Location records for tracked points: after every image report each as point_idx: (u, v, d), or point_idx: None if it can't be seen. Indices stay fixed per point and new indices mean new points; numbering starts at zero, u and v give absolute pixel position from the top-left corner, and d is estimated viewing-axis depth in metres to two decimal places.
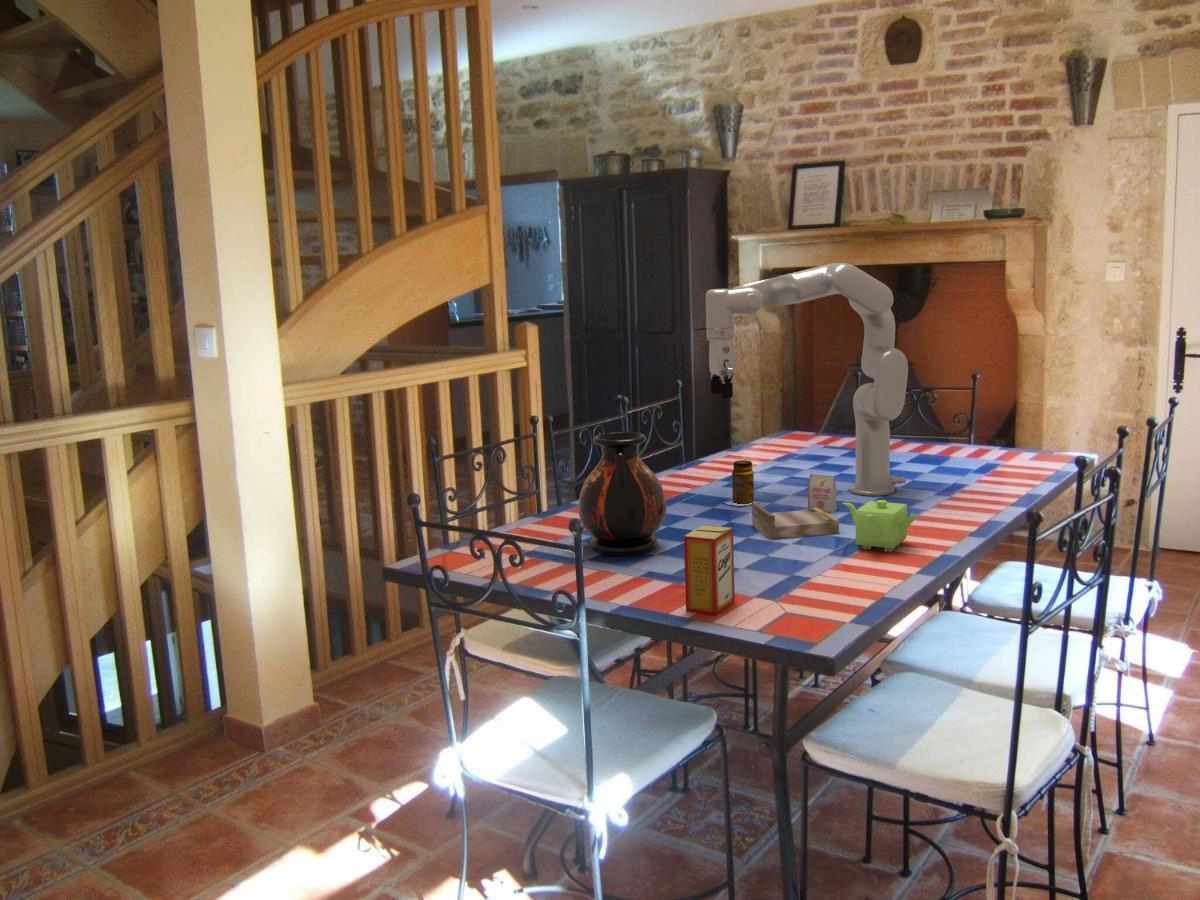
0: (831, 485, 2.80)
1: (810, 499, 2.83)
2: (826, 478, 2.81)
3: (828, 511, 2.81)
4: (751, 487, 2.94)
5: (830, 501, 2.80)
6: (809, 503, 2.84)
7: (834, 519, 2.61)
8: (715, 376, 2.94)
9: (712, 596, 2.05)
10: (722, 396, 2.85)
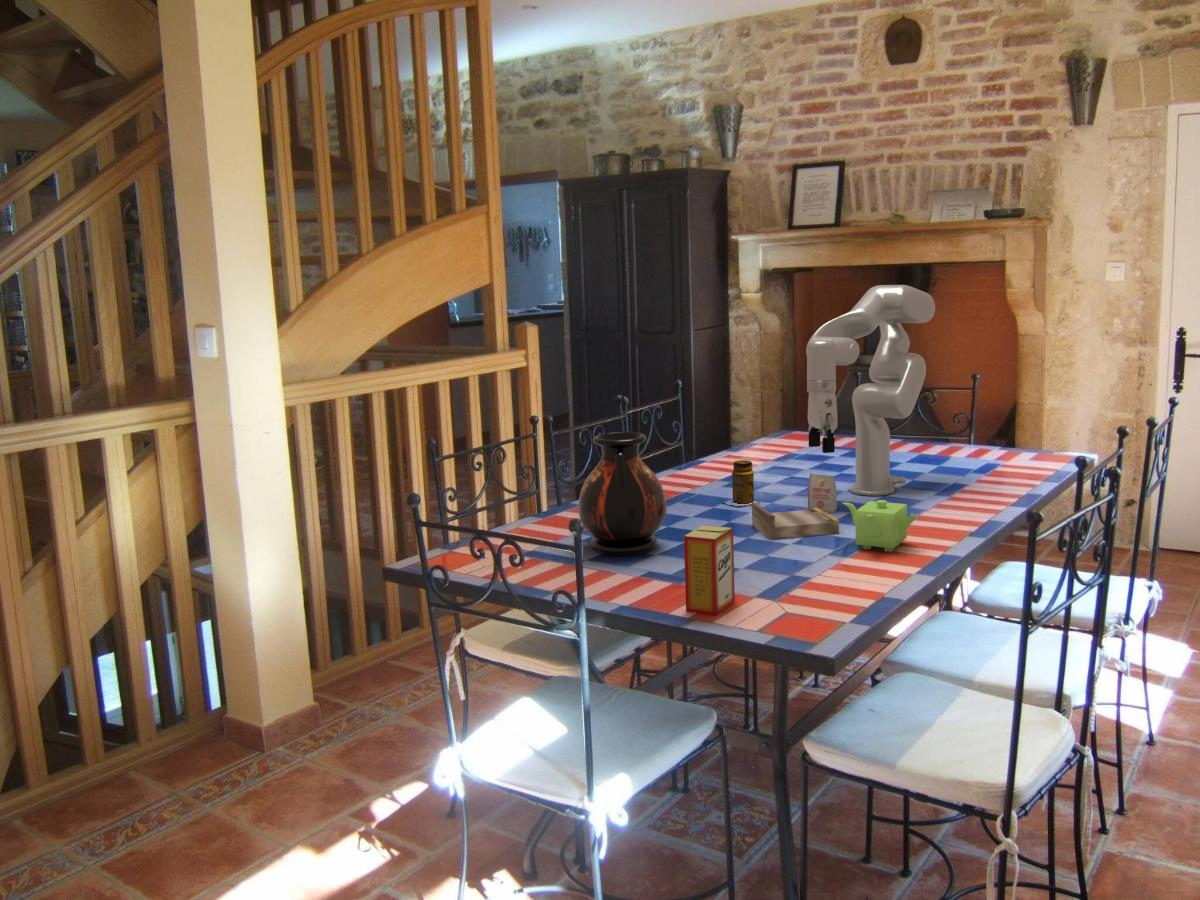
0: (831, 485, 2.80)
1: (810, 499, 2.83)
2: (826, 478, 2.81)
3: (828, 511, 2.81)
4: (751, 487, 2.94)
5: (830, 501, 2.80)
6: (809, 503, 2.84)
7: (834, 519, 2.61)
8: (813, 428, 2.85)
9: (712, 596, 2.05)
10: (824, 451, 2.75)
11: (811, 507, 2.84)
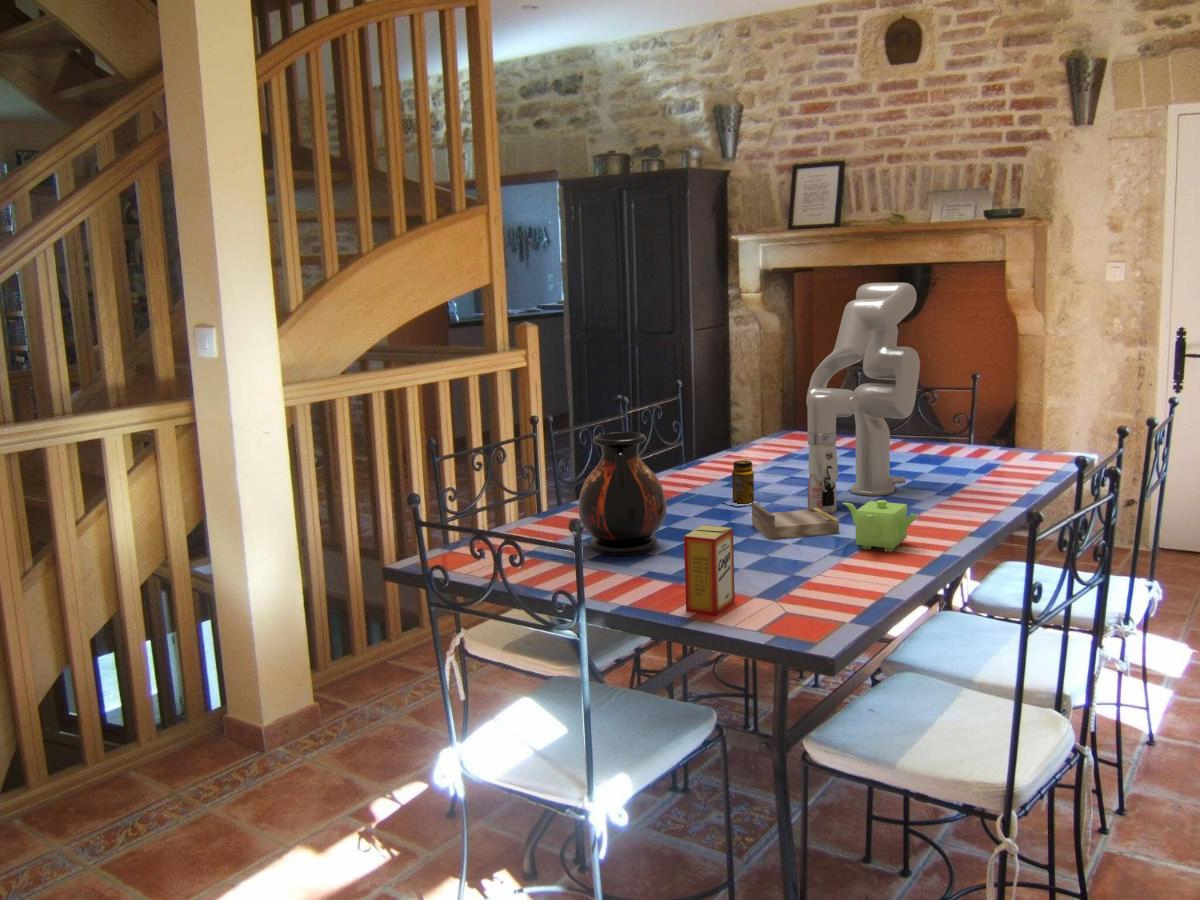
0: None
1: (810, 498, 2.83)
2: None
3: (828, 511, 2.81)
4: (751, 487, 2.94)
5: None
6: (809, 503, 2.84)
7: (834, 519, 2.61)
8: None
9: (712, 596, 2.05)
10: (823, 504, 2.79)
11: (811, 507, 2.84)
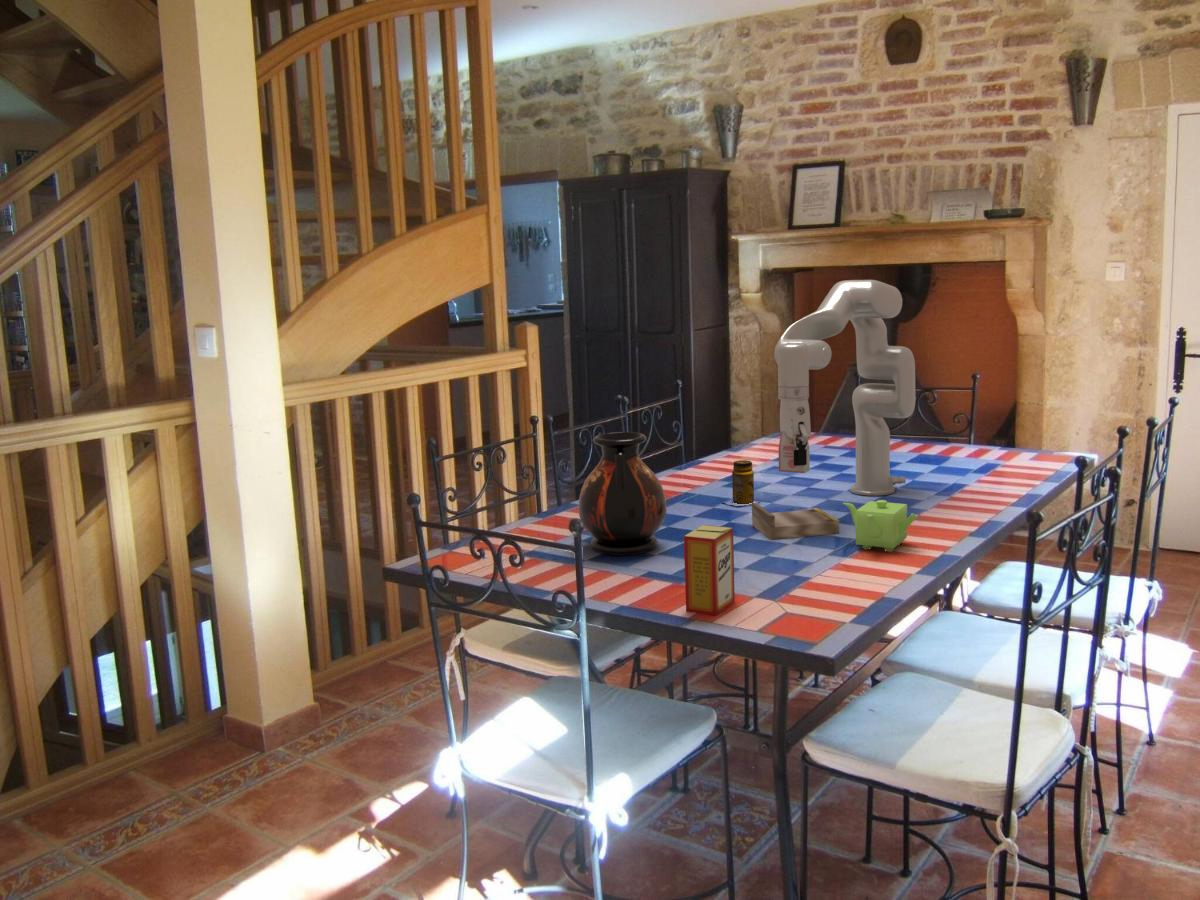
0: None
1: (781, 458, 2.63)
2: None
3: (800, 471, 2.61)
4: (751, 487, 2.94)
5: None
6: (780, 463, 2.63)
7: (834, 519, 2.61)
8: None
9: (712, 596, 2.05)
10: (795, 463, 2.59)
11: (782, 467, 2.63)
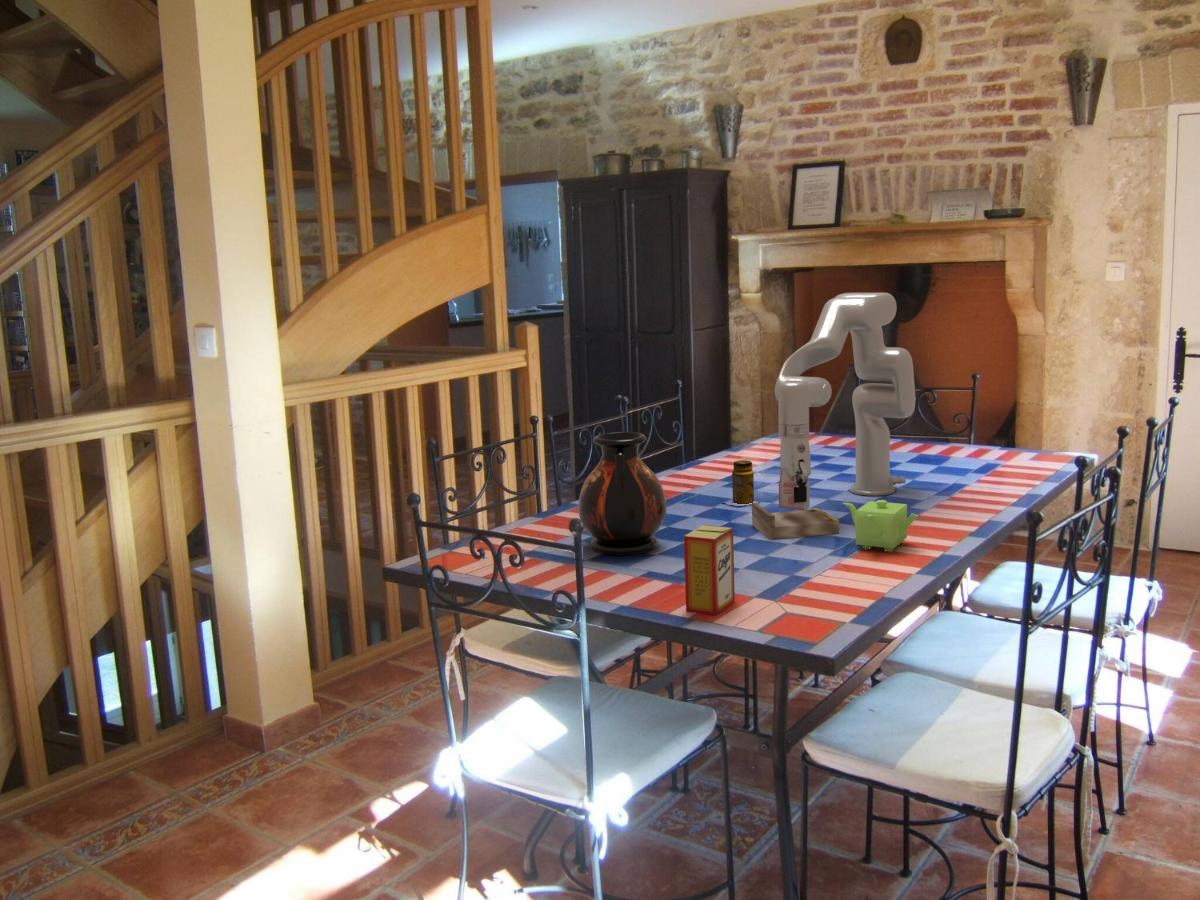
0: None
1: (781, 494, 2.64)
2: None
3: (800, 507, 2.62)
4: (751, 487, 2.94)
5: None
6: (780, 499, 2.65)
7: (834, 519, 2.61)
8: None
9: (712, 596, 2.05)
10: (795, 500, 2.60)
11: (782, 503, 2.65)
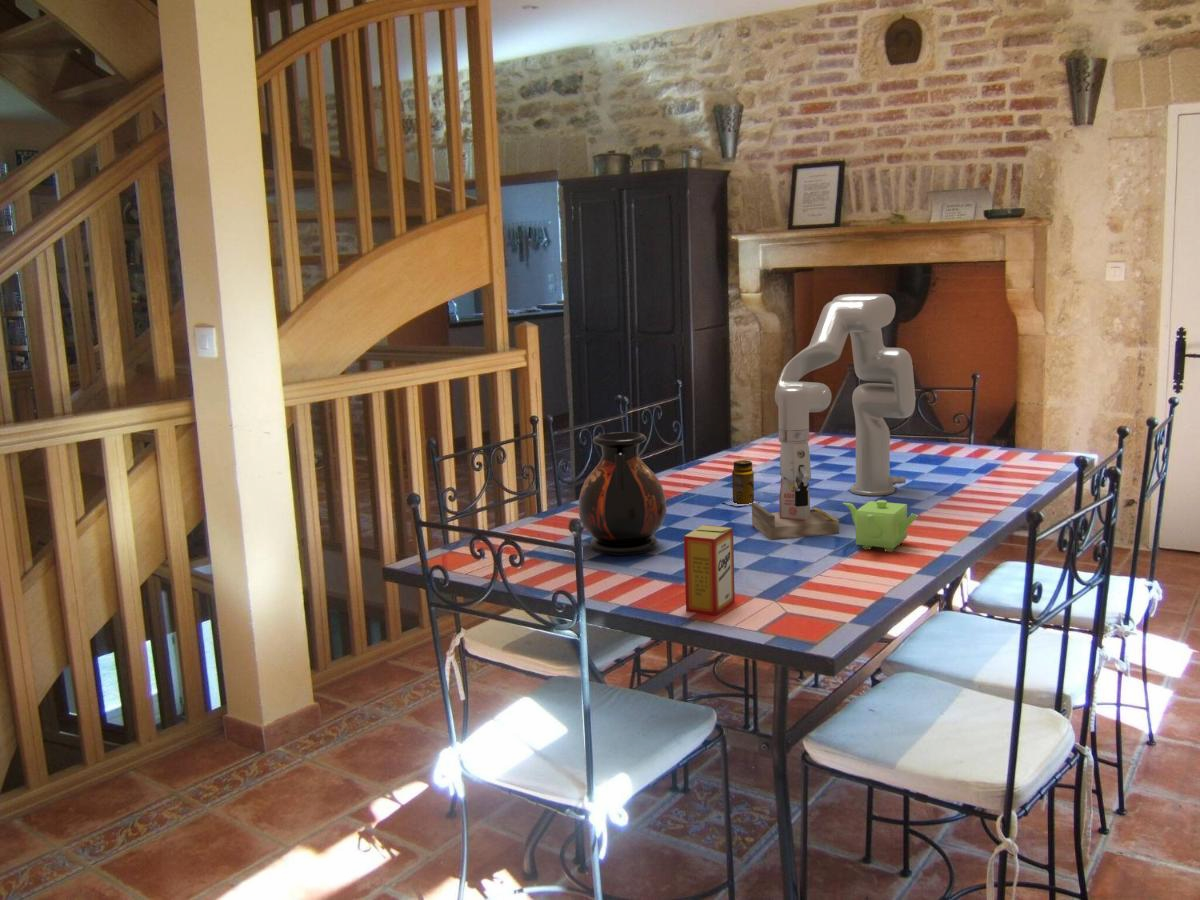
0: None
1: (781, 505, 2.65)
2: (799, 483, 2.63)
3: (801, 518, 2.63)
4: (751, 487, 2.94)
5: (802, 507, 2.62)
6: (781, 510, 2.65)
7: (834, 519, 2.61)
8: None
9: (712, 596, 2.05)
10: (796, 504, 2.59)
11: (783, 514, 2.65)
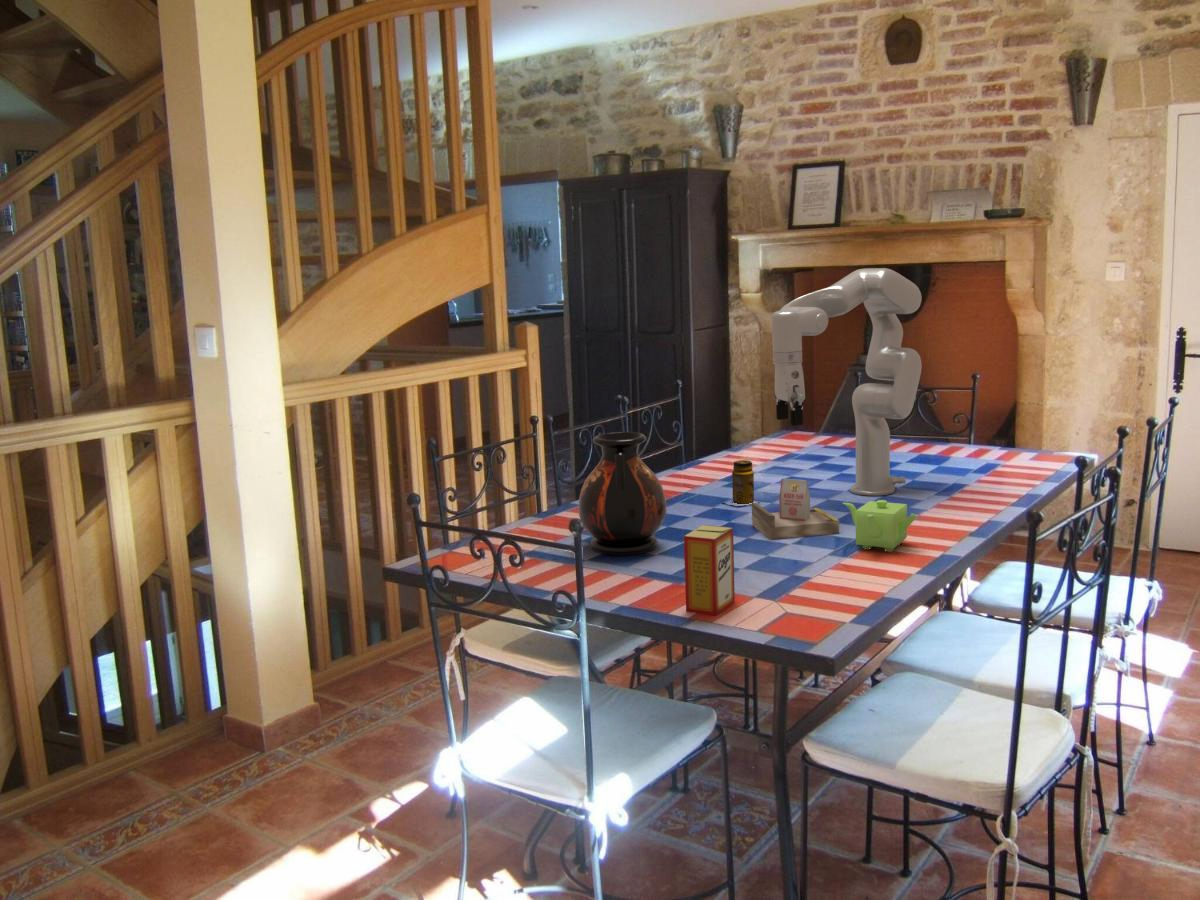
0: (804, 491, 2.62)
1: (781, 505, 2.65)
2: (799, 483, 2.63)
3: (801, 518, 2.63)
4: (751, 487, 2.94)
5: (802, 507, 2.62)
6: (781, 510, 2.65)
7: (834, 519, 2.61)
8: (781, 401, 2.80)
9: (712, 596, 2.05)
10: (792, 423, 2.71)
11: (783, 514, 2.65)
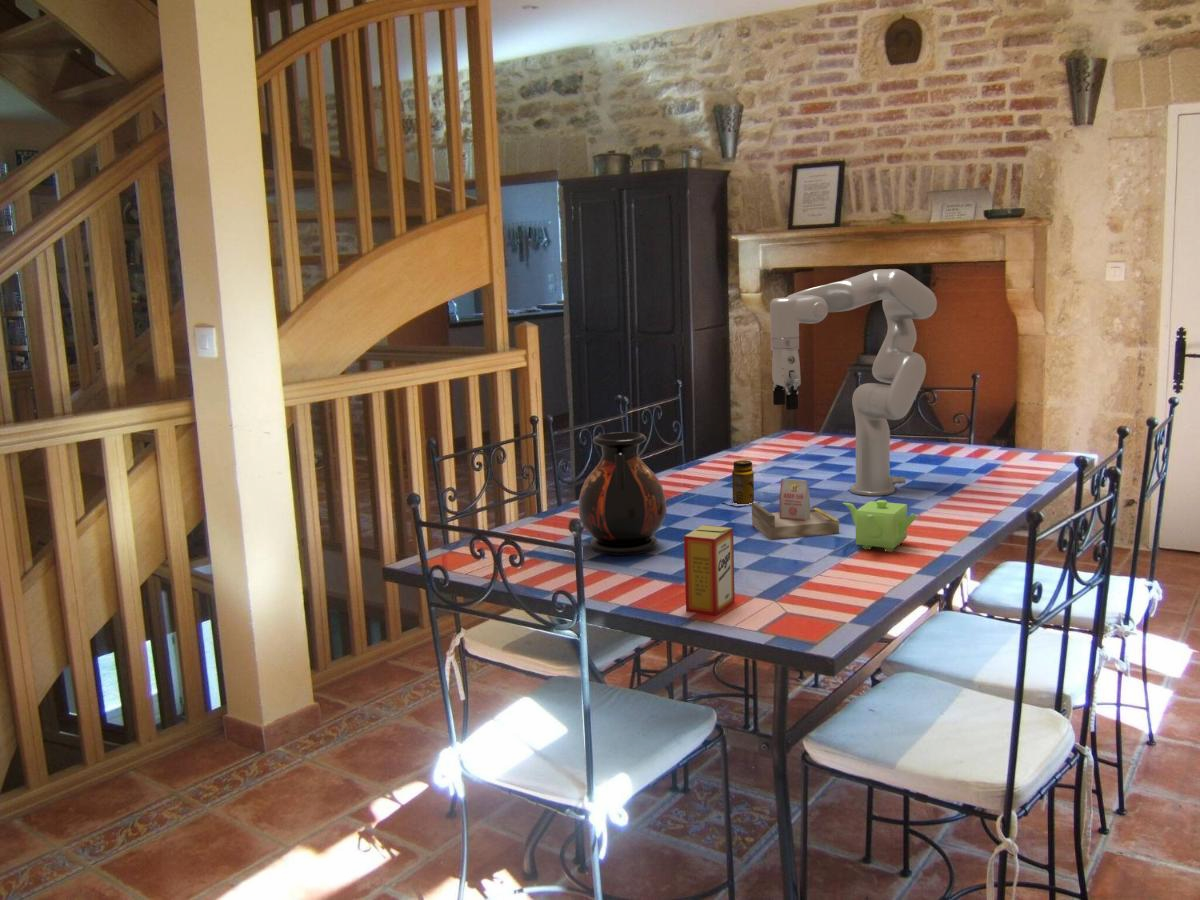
0: (804, 491, 2.62)
1: (781, 505, 2.65)
2: (799, 483, 2.63)
3: (801, 518, 2.63)
4: (751, 487, 2.94)
5: (802, 507, 2.62)
6: (781, 510, 2.65)
7: (834, 519, 2.61)
8: (778, 387, 2.87)
9: (712, 596, 2.05)
10: (787, 407, 2.78)
11: (783, 514, 2.65)
